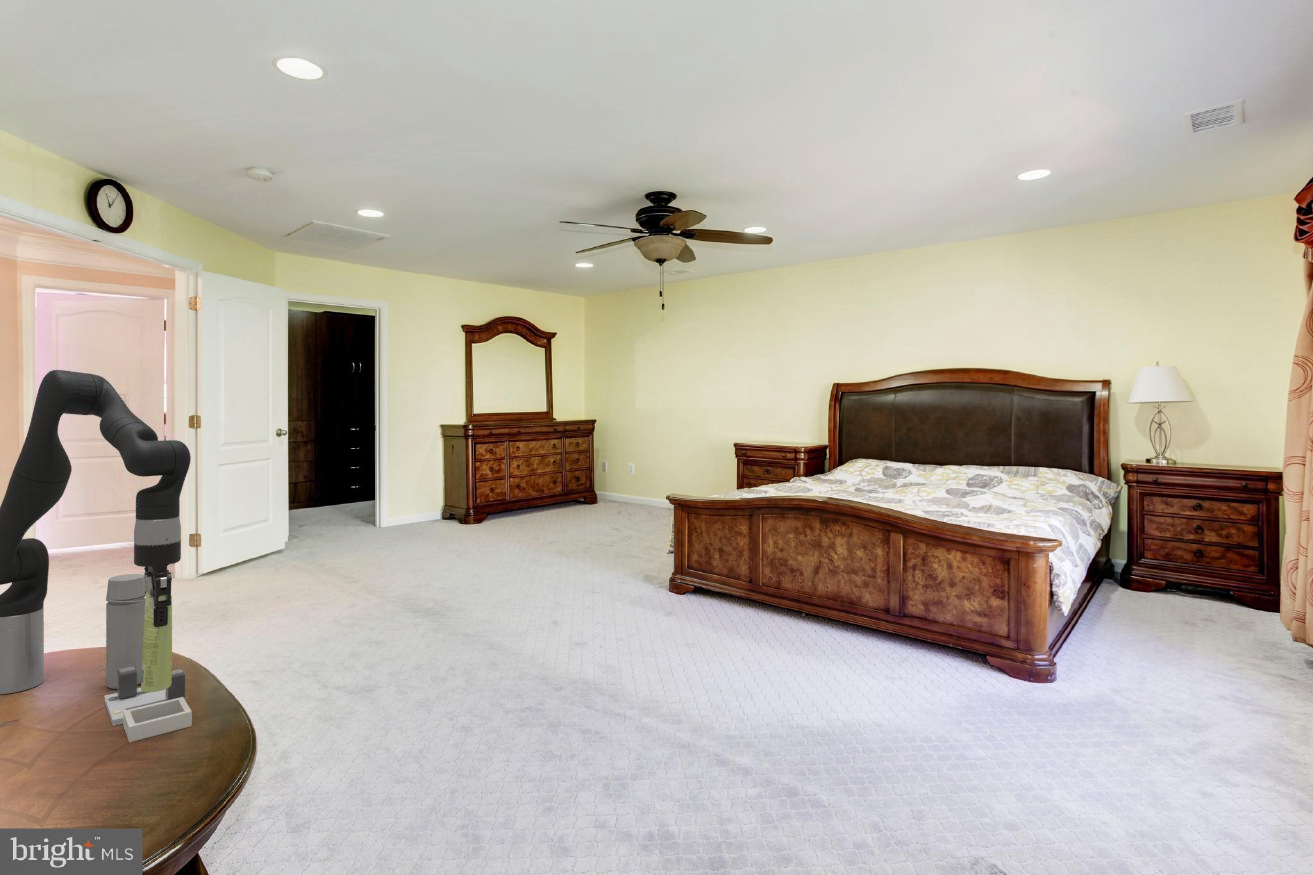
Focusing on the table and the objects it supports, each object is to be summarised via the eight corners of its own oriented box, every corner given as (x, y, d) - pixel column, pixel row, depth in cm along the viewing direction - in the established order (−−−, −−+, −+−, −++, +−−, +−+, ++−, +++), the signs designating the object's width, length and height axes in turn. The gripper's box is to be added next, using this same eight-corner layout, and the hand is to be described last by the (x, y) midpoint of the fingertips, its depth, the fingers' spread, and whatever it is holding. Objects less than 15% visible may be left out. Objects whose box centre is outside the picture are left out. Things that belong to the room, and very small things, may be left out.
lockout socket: (122, 725, 133) (123, 710, 132) (183, 710, 140) (183, 696, 140) (129, 742, 126) (129, 727, 126) (191, 725, 133) (191, 711, 133)
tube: (178, 681, 136) (179, 588, 135) (170, 691, 132) (171, 595, 131) (145, 684, 134) (146, 590, 133) (136, 694, 129) (137, 597, 129)
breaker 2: (165, 696, 142) (165, 671, 142) (182, 692, 144) (182, 667, 144) (168, 701, 140) (168, 675, 140) (185, 697, 142) (185, 672, 142)
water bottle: (105, 694, 146) (105, 583, 145) (106, 681, 152) (106, 575, 151) (157, 684, 152) (157, 577, 151) (156, 673, 158) (156, 570, 157)
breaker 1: (117, 694, 143) (117, 668, 143) (134, 690, 145) (134, 665, 145) (119, 698, 141) (119, 673, 140) (136, 694, 143) (136, 669, 143)
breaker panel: (104, 700, 143) (104, 694, 143) (169, 686, 151) (169, 680, 151) (112, 726, 132) (112, 718, 132) (182, 708, 140) (182, 702, 140)
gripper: (187, 543, 129) (187, 627, 130) (174, 532, 139) (173, 609, 140) (139, 548, 124) (139, 635, 124) (129, 536, 134) (128, 616, 135)
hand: (157, 621), depth 132 cm, fingers closed on tube, 6 cm apart
